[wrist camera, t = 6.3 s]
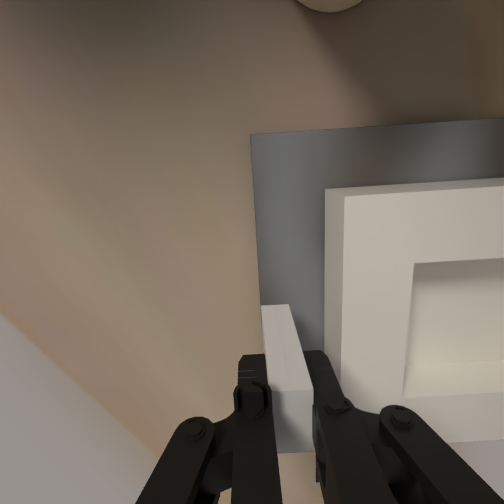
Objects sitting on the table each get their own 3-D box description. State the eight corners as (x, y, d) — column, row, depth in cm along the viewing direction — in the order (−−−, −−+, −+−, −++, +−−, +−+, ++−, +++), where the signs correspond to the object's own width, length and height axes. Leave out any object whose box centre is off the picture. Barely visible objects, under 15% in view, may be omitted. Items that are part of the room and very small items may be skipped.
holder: (324, 403, 21) (339, 450, 17) (325, 189, 17) (344, 196, 13) (535, 389, 21) (591, 434, 17) (586, 172, 17) (671, 175, 13)
